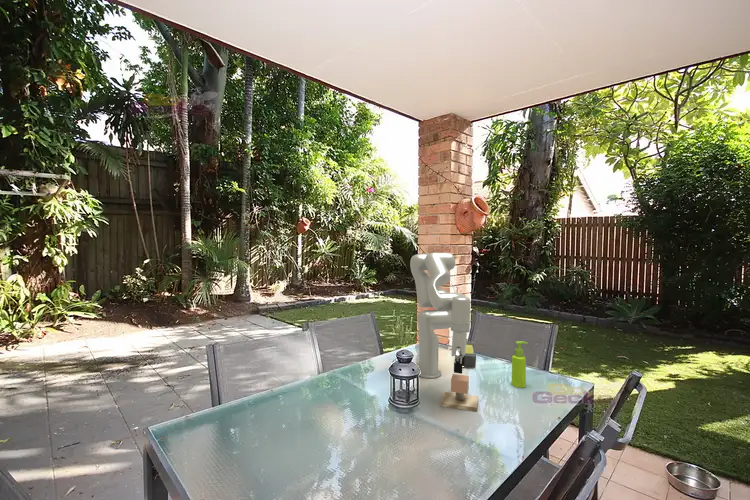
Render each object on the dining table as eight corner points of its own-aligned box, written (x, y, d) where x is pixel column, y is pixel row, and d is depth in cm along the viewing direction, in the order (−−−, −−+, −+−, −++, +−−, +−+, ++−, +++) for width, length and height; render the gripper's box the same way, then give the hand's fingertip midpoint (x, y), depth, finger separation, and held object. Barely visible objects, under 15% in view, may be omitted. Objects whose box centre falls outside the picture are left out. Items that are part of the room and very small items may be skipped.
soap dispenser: (530, 387, 159) (530, 343, 159) (514, 387, 159) (515, 343, 159) (524, 382, 165) (525, 340, 165) (509, 382, 165) (510, 339, 165)
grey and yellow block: (474, 382, 189) (467, 347, 216) (476, 355, 183) (469, 323, 210) (459, 381, 190) (455, 346, 217) (461, 355, 184) (456, 322, 211)
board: (440, 406, 141) (440, 382, 141) (444, 395, 151) (444, 372, 151) (477, 411, 136) (477, 387, 136) (478, 399, 146) (478, 377, 146)
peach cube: (450, 391, 142) (451, 379, 142) (452, 385, 148) (452, 373, 148) (467, 394, 140) (467, 381, 139) (468, 388, 146) (468, 375, 146)
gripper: (453, 321, 153) (452, 360, 154) (447, 331, 136) (446, 375, 137) (471, 322, 150) (470, 362, 151) (468, 333, 134) (466, 378, 135)
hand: (459, 368), depth 144 cm, fingers open, 9 cm apart
